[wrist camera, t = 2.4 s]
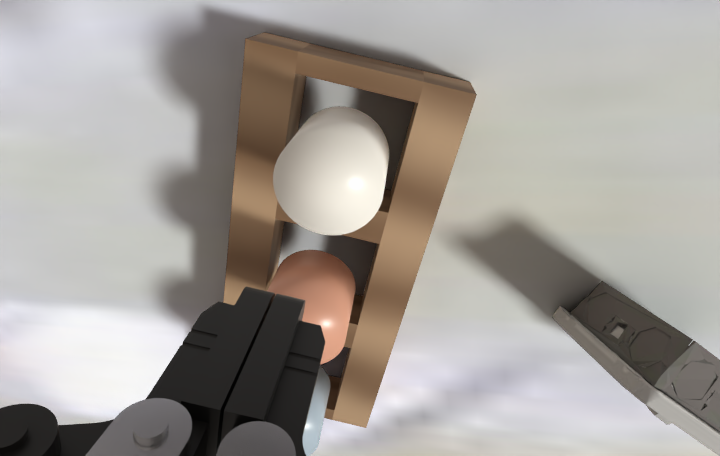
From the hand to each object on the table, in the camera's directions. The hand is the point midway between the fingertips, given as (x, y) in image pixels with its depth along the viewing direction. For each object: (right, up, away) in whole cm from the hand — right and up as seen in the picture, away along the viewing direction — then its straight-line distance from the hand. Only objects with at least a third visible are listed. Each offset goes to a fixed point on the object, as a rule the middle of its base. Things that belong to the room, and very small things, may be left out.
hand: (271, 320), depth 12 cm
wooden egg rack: (0, +1, +18) cm, 18 cm away
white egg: (+1, +6, +11) cm, 13 cm away
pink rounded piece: (0, -1, +15) cm, 15 cm away
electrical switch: (+20, -4, +19) cm, 27 cm away
